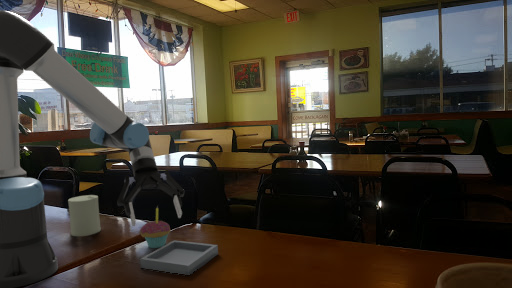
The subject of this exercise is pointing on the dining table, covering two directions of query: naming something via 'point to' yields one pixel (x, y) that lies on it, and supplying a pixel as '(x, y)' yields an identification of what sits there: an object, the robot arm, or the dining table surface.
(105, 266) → the dining table surface
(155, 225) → the cupcake
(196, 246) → the tray
